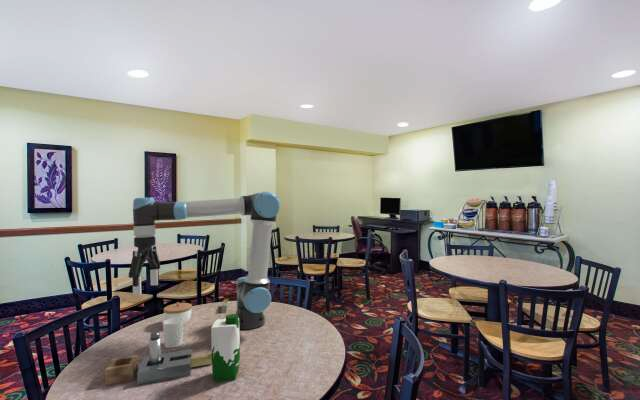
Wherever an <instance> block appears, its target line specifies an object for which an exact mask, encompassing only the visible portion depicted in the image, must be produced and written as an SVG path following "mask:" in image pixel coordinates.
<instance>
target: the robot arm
mask: <svg viewBox="0 0 640 400" xmlns="http://www.w3.org/2000/svg"><path fill="white" fill-rule="evenodd" d="M132 202H133V203H132V204H133V205H132V216H133V218H132V221H133V228H132V230H133V236H134V238H133V247H135V248H137V250H133V251H132V257H131V258H132V259H131V263H130V267H129V271H128V278H129V279H132V295H133V296H136V295H138V296H140V295H142V277H141V273H142V270H143V267H144V264H145V263H146V262H147V263H148V264H149V266H150V270H149V272H150V273H149V275H150V278H149V279H150V280H149V281H150V286H158V285H159V273H158V272H159V271H158V270H159V269H161V262H160V258H159V255H158V252H157V246H156V244H157V243H156V236H155V235H156V222H159V221H180V220H186V219H188V218H202V217H203V218H204V217H216V216H225V215H226V216H229V215H241V216H243V217H244V216H250V221H251V223H252V232H251V233H252V235H251V244H250V253H249V255H250V256H249V263H248V275H247V276H243V277H239V278H237V279H236V284H235V286H236V312H235V314H237V315H238V318H239V330H252V329H256V328H260V327H262V326H264V325H265V323H266V317H265V314H264V311H265V310H267V309H268V307H270V304H271V301H272V295H271V292H270V286H271V285H270V284H271V283H270V282H271V280H270V279H269V278H268V270H269V263H270V262H269V259H270V250H271V249H270V248H271V239H272V230H273V225H274V224H275V223H276V221H277V214H279V211H280V208H281V201H280V200H279V197H278V196H277V195H276V194H274V193H273V192H269V191H261V192H257V193H253V194H248V195H241V196H240V197H237V198H223V199H220V198H219V199H205V200H191V201H164V202H163V201H162V202H161V201H160V202H158V201H155V198H154V197H135V198H134V199H133V201H132Z"/></svg>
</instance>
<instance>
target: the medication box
mask: <svg viewBox="0 0 640 400" xmlns="http://www.w3.org/2000/svg"><path fill="white" fill-rule="evenodd" d="M228 305H229V299H223V301H222V305H221V311H220V313H221V314H226V312H227V310H228Z"/></svg>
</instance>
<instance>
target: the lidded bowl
mask: <svg viewBox="0 0 640 400" xmlns="http://www.w3.org/2000/svg"><path fill="white" fill-rule="evenodd" d="M192 311H193V305H192V303H188V302H179V301H178V302H176V303H173V304H169V305H166V306H165V307H164V308H163V313H164V314H163V316H164V321H165V320H167V319H170V318H183V327H184V326H185V325H187V324H188V323H189V321H190V320H191V317H192V314H193V313H192Z"/></svg>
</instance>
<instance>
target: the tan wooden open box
mask: <svg viewBox="0 0 640 400" xmlns="http://www.w3.org/2000/svg"><path fill="white" fill-rule="evenodd" d="M138 370H139V354H134V355H128V356H122V357H116V358H111V360H110V361H109V363H108V365H107V366H106V368H105V370H104V376H105V377H104V379H105V380H104V383H105V384H104V385H105V386H109V385H114V384H120V383H125V382H131V381H134V379H135V377H136V376H137V372H138Z"/></svg>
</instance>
